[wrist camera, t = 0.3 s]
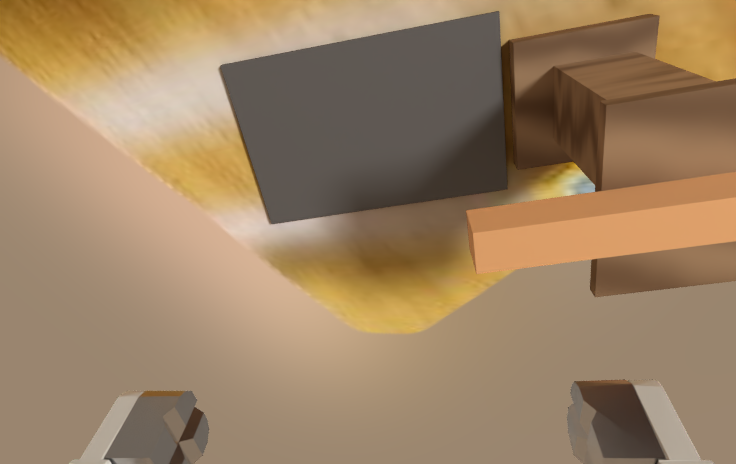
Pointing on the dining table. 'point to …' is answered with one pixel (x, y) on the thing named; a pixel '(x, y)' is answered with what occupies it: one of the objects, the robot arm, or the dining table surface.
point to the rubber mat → (375, 119)
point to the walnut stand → (625, 133)
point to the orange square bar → (604, 224)
